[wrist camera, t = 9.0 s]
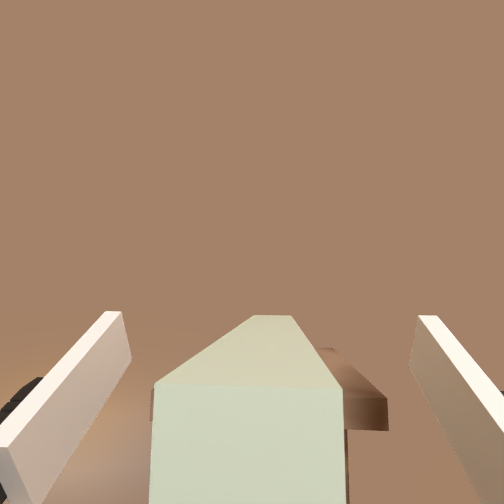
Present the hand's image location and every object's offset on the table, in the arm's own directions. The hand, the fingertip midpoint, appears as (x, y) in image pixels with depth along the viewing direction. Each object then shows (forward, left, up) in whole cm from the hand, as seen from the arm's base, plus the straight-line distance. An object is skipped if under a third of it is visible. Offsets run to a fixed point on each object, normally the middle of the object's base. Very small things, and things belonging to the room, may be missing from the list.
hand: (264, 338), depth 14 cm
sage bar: (0, +6, -3) cm, 7 cm away
